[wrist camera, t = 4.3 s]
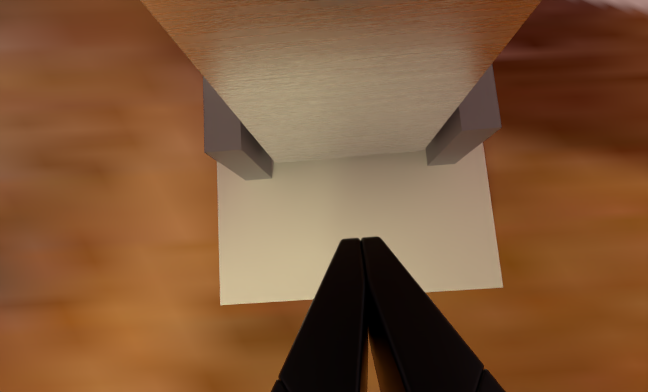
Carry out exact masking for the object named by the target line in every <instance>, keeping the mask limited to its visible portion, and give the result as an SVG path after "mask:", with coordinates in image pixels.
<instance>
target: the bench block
mask: <svg viewBox="0 0 648 392" xmlns="http://www.w3.org/2000/svg"><path fill="white" fill-rule="evenodd" d="M203 98H204V150H205V153H206V154H207V155H209V156H210V157H212V158H213V159H215V160H216V161H217V187H218V228H219V270H220V305H229V304H245V303H261V302H277V301H294V300H310V299H314V297H315V295H316V293H317V291H318V288H319V286H320V284H321V282H322V280H323V277H324V275H325V273H326V271H327V269H328V267H329V264H330V262H331V260H332V258H333V256H334V253H335V251H336V249H337V247H338V245H339V242H340V241H341V240H342V239H345V238H359V239H360V241H361V239H362V238H363V237H374V236H378V237H380V238H381V239H382V240H383V241H384V242H385V243H386V245H387V246H388V247H389V248H390V250H391V251H392V252H393V253H394V255H395V256H396V257H397V258H398V260H399V261H400V262H401V263H402V265H403V266H404V267H405V268H406V269H407V271H408V272H409V273H410V274H411V276H412V277H413V278H414V279H415V281H416V282H417V283H418V284H419V286H420V287H421V288H422V289H423V291H424V292H438V291H454V290H470V289H486V288H502V287H503V283H502V276H501V269H500V262H499V254H498V247H497V240H496V233H495V226H494V219H493V211H492V204H491V197H490V190H489V183H488V176H487V168H486V161H485V154H484V147H483V142H484V141H485V140H486V139H487V138H489V137H490V136H491V135H493V134H494V133H495V132H496V131H498V130H499V129H500V128H501V120H500V113H499V107H498V100H497V93H496V86H495V80H494V73H493V66H492V64H491V65H490V67H489V68H488V69H487V70H486V72H485V73H484V74H483V75H482V77H481V78H480V79H479V81H478V82H477V83H476V84H475V86H474V87H473V88H472V89H471V91H470V92H469V93H468V95H467V96H466V97H465V98H464V100H463V101H462V102H461V103H460V105H459V106H458V107H457V109H456V110H455V111H454V112H453V114H452V115H451V116H450V117H449V119H448V120H447V121H446V123H445V124H444V125H443V126H442V128H441V129H440V130H439V131H438V133H437V134H436V135H435V137H434V138H433V139H432V140H431V142H430V143H429V144H428V145H427V147H426V148H425V149H424V151H415V152H403V153H391V154H379V155H367V156H355V157H343V158H330V159H318V160H306V161H294V162H282V163H275V162H274V161H273V159H272V158H271V157H270V156H269V155H268V153H267V152H266V151H265V150H264V149H263V147H262V146H261V145H260V144H259V143H258V141H257V140H256V139H255V138H254V137H253V135H252V134H251V133H250V132H249V131H248V129H247V128H246V127H245V126H244V125H243V123H242V122H241V121H240V120H239V118H238V117H237V116H236V115H235V114H234V112H233V111H232V110H231V109H230V108H229V106H228V105H227V104H226V103H225V102H224V100H223V99H222V98H221V97H220V96H219V94H218V93H217V92H216V91H215V90H214V88H213V87H212V86H211V85H210V84H209V82H208V81H207V80H206V79H205V77H204V76H203Z"/></svg>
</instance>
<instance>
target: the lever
mask: <svg viewBox="0 0 648 392" xmlns="http://www.w3.org/2000/svg"><path fill="white" fill-rule="evenodd" d="M141 2H142V3H143V4H144V5H145V6H146V8H147V9H148V10H149V11H150V12H151V14H152V15H153V16H154V17H155V18H156V20H157V21H158V22H159V23H160V24H161V26H162V27H163V28H164V29H165V30H166V32H167V33H168V34H169V35H170V36H171V38H172V39H173V40H174V41H175V43H176V44H177V45H178V46H179V47H180V49H181V50H182V51H183V52H184V53H185V55H186V56H187V57H188V58H189V59H190V61H191V62H192V63H193V64H194V65H195V67H196V68H197V69H198V70H199V71H200V73H201V74H202V75H203V76H204V77H205V79H206V80H207V81H208V82H209V84H210V85H211V86H212V87H213V88H214V90H215V91H216V92H217V93H218V94H219V96H220V97H221V98H222V99H223V100H224V102H225V103H226V104H227V105H228V106H229V108H230V109H231V110H232V111H233V112H234V114H235V115H236V116H237V117H238V118H239V120H240V121H241V122H242V123H243V125H244V126H245V127H246V128H247V129H248V131H249V132H250V133H251V134H252V135H253V137H254V138H255V139H256V140H257V141H258V143H259V144H260V145H261V146H262V147H263V149H264V150H265V151H266V152H267V153H268V155H269V156H270V157H271V158H272V159H273V161H274V162H275V163H282V162H294V161H306V160H318V159H330V158H343V157H355V156H367V155H379V154H391V153H403V152H415V151H424V149H425V148H426V147H427V145H428V144H429V143H430V142H431V140H432V139H433V138H434V137H435V135H436V134H437V133H438V131H439V130H440V129H441V128H442V126H443V125H444V124H445V123H446V121H447V120H448V119H449V117H450V116H451V115H452V114H453V112H454V111H455V110H456V109H457V107H458V106H459V105H460V103H461V102H462V101H463V100H464V98H465V97H466V96H467V95H468V93H469V92H470V91H471V89H472V88H473V87H474V86H475V84H476V83H477V82H478V81H479V79H480V78H481V77H482V75H483V74H484V73H485V72H486V70H487V69H488V68H489V67H490V65H491V64H492V63H493V61H494V60H495V59H496V58H497V56H498V55H499V54H500V53H501V51H502V50H503V49H504V47H505V46H506V45H507V44H508V42H509V41H510V40H511V39H512V37H513V36H514V35H515V33H516V32H517V31H518V30H519V28H520V27H521V26H522V25H523V23H524V22H525V21H526V19H527V18H528V17H529V16H530V14H531V13H532V12H533V11H534V9H535V8H536V7H537V5H538V4H539V3H540V2H541V0H141Z"/></svg>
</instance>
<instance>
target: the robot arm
mask: <svg viewBox="0 0 648 392" xmlns="http://www.w3.org/2000/svg"><path fill="white" fill-rule="evenodd" d="M368 334H369V341H370V346H371V351H372V356H373V360H374V365H375V369H376V373H377V378H378V382H379V387H380V391H381V392H505V391H504V389H503V388H502V387H501V386H500V384H499V383H498V382H497V381H496V379H495V378H494V377H493V376H492V374H491V373H490V372H489V371H488V370H487V369H484V365H483V364H482V362H481V361H480V360H479V359H478V357H477V356H476V355H475V354H474V352H473V351H472V350H471V349H470V348H469V346H468V345H467V344H466V343H465V341H464V340H463V339H462V338H461V336H460V335H459V334H458V333H457V331H456V330H455V329H454V328H453V326H452V325H451V324H450V323H449V322H448V320H447V319H446V318H445V317H444V315H443V314H442V313H441V312H440V310H439V309H438V308H437V307H436V305H435V304H434V303H433V302H432V300H431V299H430V298H429V297H428V295H427V294H426V293H425V292H424V291H423V289H422V288H421V287H420V286H419V284H418V283H417V282H416V281H415V279H414V278H413V277H412V276H411V274H410V273H409V272H408V271H407V269H406V268H405V267H404V266H403V265H402V263H401V262H400V261H399V260H398V258H397V257H396V256H395V255H394V253H393V252H392V251H391V250H390V248H389V247H388V246H387V245H386V243H385V242H384V241H383V240H382V239H381V238H380V237H378V236H374V237H363V238H362V239H361V241H360V239H359V238H345V239H342V240H341V241H340V242H339V245H338V247H337V249H336V251H335V253H334V256H333V258H332V260H331V262H330V264H329V267H328V269H327V271H326V273H325V275H324V277H323V280H322V282H321V284H320V286H319V288H318V291H317V293H316V295H315V297H314V299H313V301H312V304H311V306H310V308H309V310H308V312H307V315H306V317H305V319H304V321H303V323H302V326H301V328H300V330H299V332H298V334H297V336H296V339H295V341H294V343H293V345H292V347H291V350H290V352H289V354H288V356H287V358H286V360H285V363H284V365H283V367H282V369H281V371H280V374H279V380H276V382H275V384H274V386H273V388H272V391H271V392H367V379H368ZM483 369H484V370H483Z"/></svg>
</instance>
